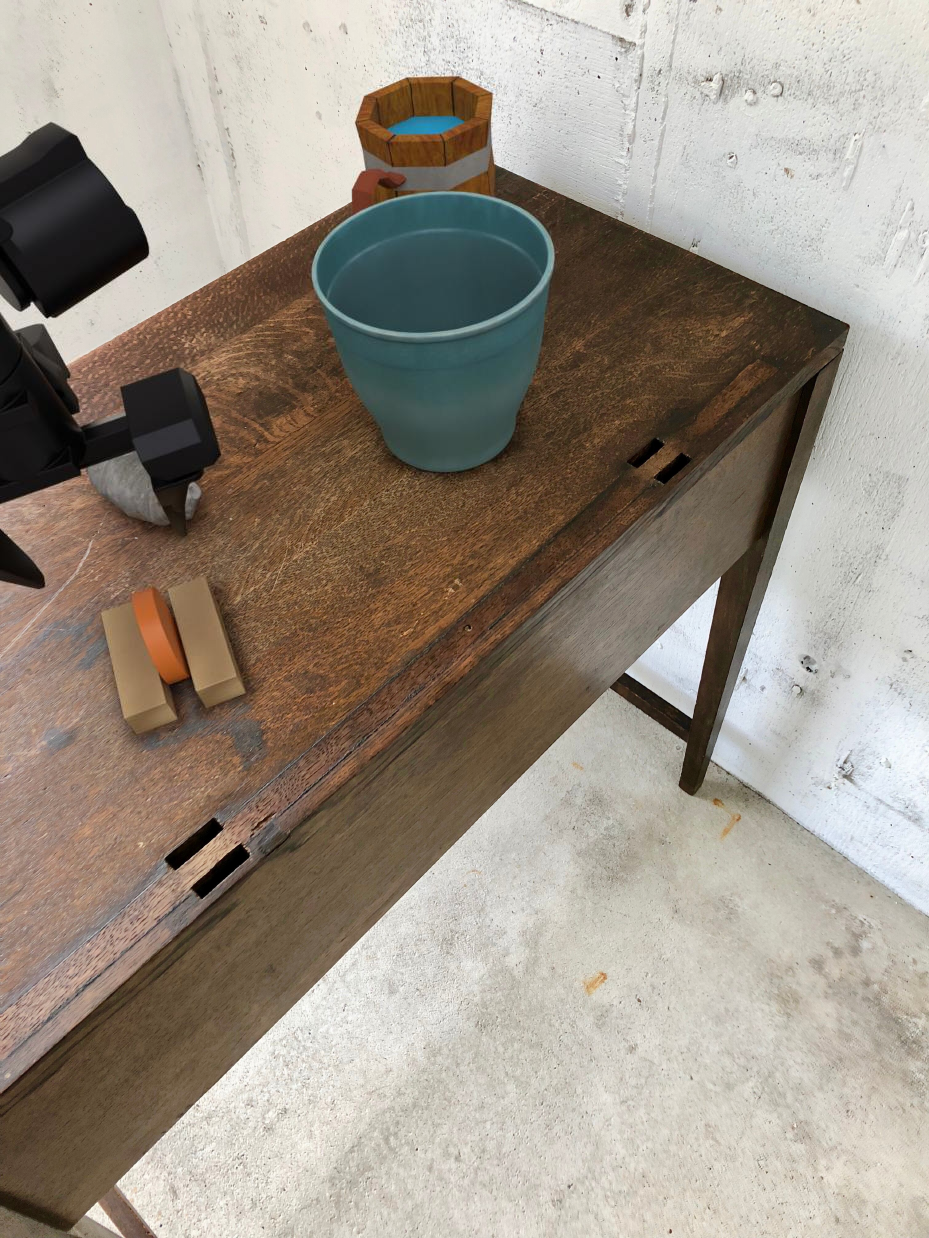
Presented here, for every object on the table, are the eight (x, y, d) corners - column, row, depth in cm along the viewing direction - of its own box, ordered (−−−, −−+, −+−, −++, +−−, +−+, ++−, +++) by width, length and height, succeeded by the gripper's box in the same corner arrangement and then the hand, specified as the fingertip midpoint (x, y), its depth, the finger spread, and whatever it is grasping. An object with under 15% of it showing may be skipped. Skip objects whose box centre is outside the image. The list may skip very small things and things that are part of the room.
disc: (178, 701, 64) (143, 650, 58) (158, 629, 68) (124, 574, 62) (198, 694, 64) (165, 642, 58) (177, 623, 68) (145, 567, 62)
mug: (416, 208, 100) (399, 65, 88) (522, 234, 96) (521, 87, 83) (321, 306, 90) (288, 160, 78) (434, 339, 86) (418, 190, 74)
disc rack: (137, 735, 62) (123, 718, 60) (113, 630, 68) (100, 612, 66) (246, 693, 64) (236, 675, 62) (214, 594, 69) (205, 575, 67)
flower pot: (558, 497, 73) (564, 324, 59) (344, 510, 74) (300, 342, 60) (543, 358, 83) (545, 183, 70) (355, 369, 84) (320, 199, 70)
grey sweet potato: (117, 414, 78) (88, 371, 70) (226, 515, 77) (209, 483, 70) (63, 462, 77) (27, 424, 69) (173, 565, 76) (149, 538, 68)
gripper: (128, 216, 47) (229, 423, 60) (-219, 329, 45) (-37, 516, 59) (161, 342, 41) (265, 541, 54) (-237, 477, 39) (-30, 648, 53)
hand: (113, 557), depth 55 cm, fingers open, 9 cm apart
